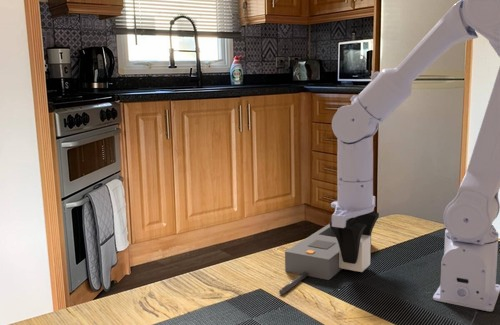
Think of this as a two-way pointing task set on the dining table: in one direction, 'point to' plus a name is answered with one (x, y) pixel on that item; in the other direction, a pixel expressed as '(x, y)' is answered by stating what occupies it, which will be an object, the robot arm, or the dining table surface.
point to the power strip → (313, 257)
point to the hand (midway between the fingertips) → (354, 258)
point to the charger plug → (359, 256)
